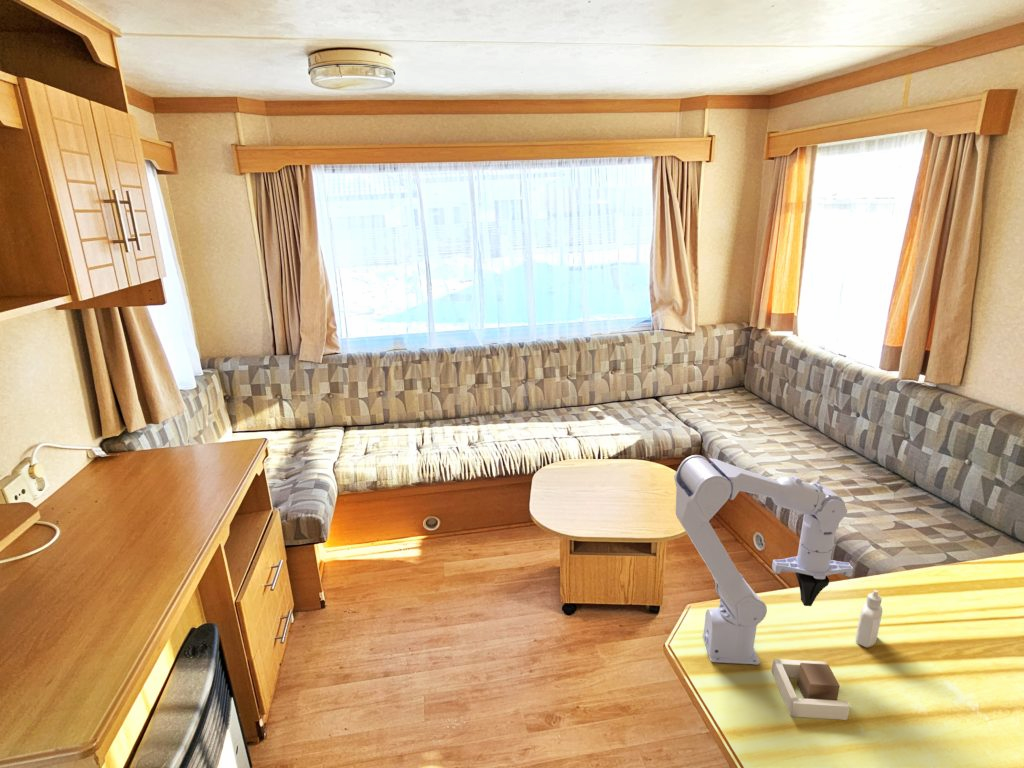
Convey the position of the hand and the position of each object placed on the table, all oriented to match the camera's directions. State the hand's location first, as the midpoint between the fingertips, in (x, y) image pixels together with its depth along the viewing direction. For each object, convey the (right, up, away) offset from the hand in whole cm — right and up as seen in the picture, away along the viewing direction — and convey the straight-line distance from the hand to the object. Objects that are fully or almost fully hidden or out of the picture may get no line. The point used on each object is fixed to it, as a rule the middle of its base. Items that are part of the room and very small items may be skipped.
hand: (806, 602), depth 119 cm
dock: (-4, -14, -9) cm, 17 cm away
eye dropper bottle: (+14, -9, +4) cm, 17 cm away
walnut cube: (-3, -14, -9) cm, 17 cm away
